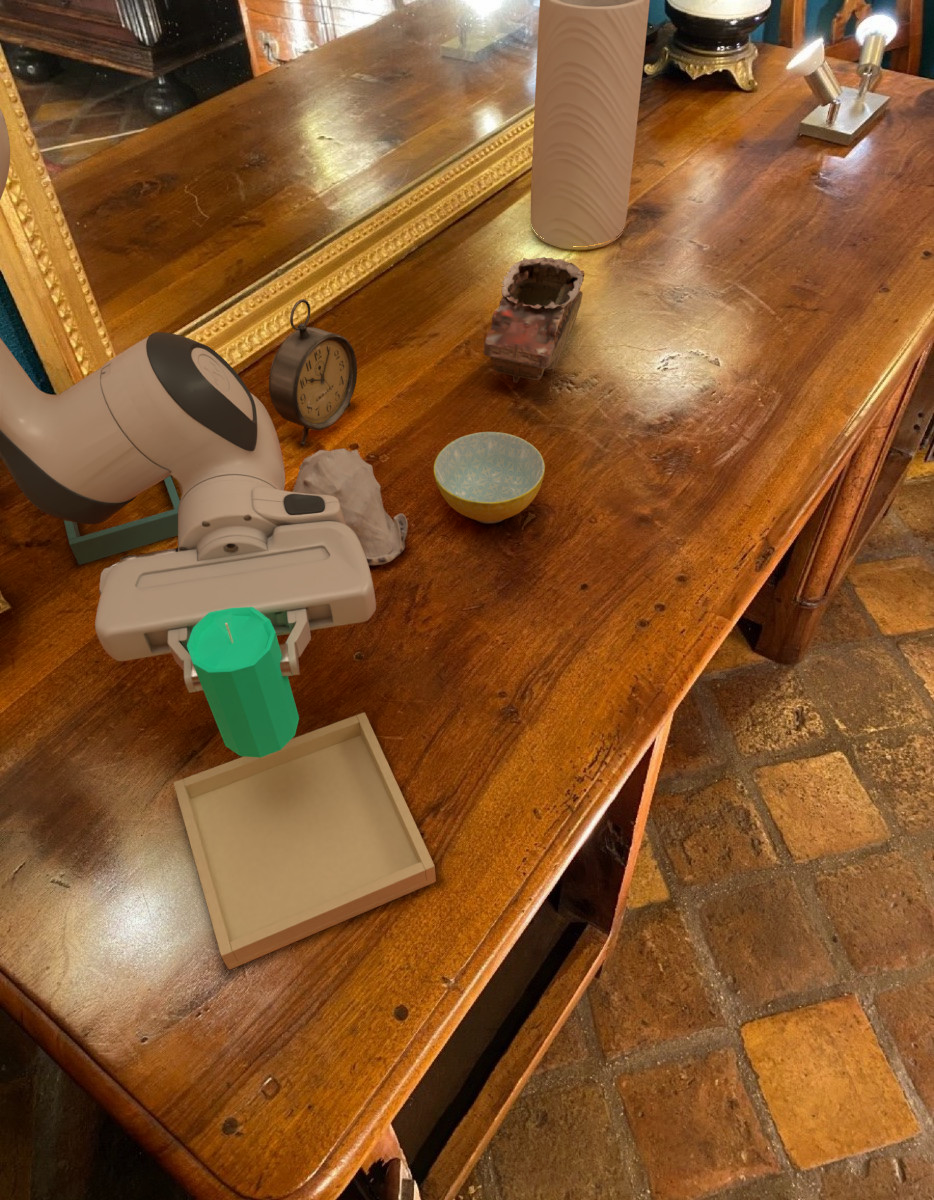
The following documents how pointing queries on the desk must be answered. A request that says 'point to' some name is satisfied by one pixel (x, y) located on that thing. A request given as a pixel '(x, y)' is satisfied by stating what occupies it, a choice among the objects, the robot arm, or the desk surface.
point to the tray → (300, 839)
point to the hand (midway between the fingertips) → (243, 678)
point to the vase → (585, 118)
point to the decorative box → (534, 317)
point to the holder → (125, 533)
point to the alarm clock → (312, 377)
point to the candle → (244, 680)
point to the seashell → (355, 500)
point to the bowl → (489, 475)
